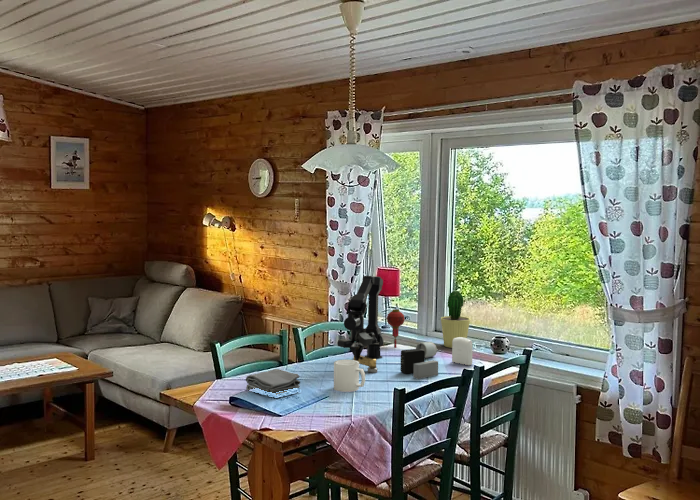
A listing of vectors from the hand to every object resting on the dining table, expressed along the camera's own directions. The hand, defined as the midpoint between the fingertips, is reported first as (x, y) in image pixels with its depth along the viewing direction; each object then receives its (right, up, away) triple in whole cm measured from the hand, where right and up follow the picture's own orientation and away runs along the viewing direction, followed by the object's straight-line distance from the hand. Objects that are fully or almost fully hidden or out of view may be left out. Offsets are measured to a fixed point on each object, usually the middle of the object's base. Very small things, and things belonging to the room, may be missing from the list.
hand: (357, 360), depth 310 cm
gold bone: (+3, -2, -1) cm, 4 cm away
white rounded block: (+50, -4, +13) cm, 52 cm away
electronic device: (+25, -5, -5) cm, 26 cm away
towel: (-33, -7, -39) cm, 52 cm away
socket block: (+30, -5, -12) cm, 33 cm away
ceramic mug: (+33, -3, +26) cm, 42 cm away
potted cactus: (+53, -1, +53) cm, 75 cm away
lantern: (+20, -1, +47) cm, 51 cm away
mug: (-4, -6, -34) cm, 35 cm away
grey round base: (+7, -4, -5) cm, 10 cm away
